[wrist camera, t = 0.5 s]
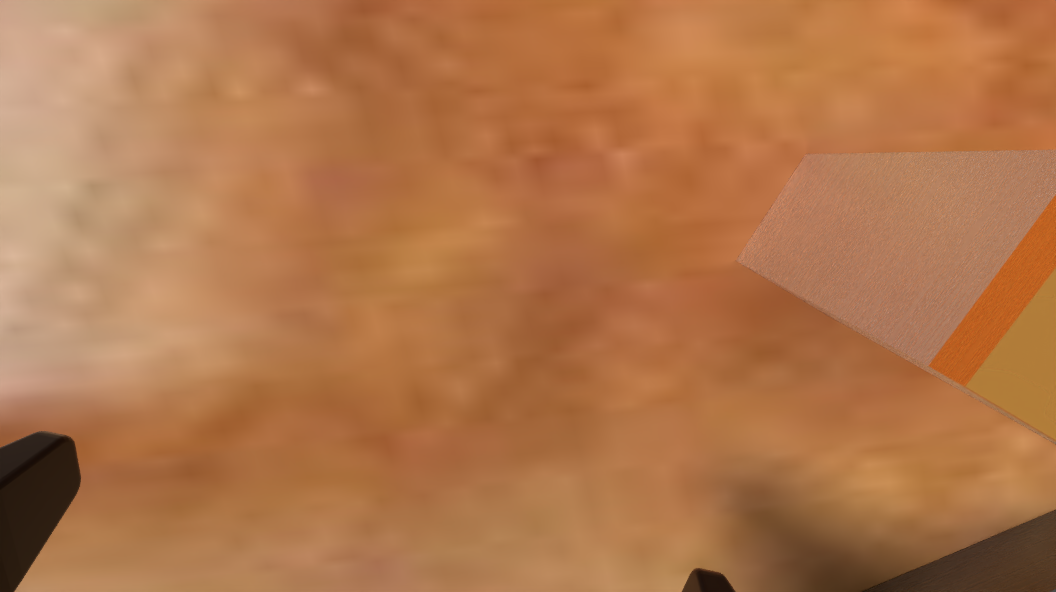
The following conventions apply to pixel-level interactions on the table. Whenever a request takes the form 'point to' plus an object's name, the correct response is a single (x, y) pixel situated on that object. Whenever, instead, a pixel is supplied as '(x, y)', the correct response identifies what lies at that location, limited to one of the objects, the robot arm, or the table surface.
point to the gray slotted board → (991, 564)
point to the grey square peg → (930, 264)
